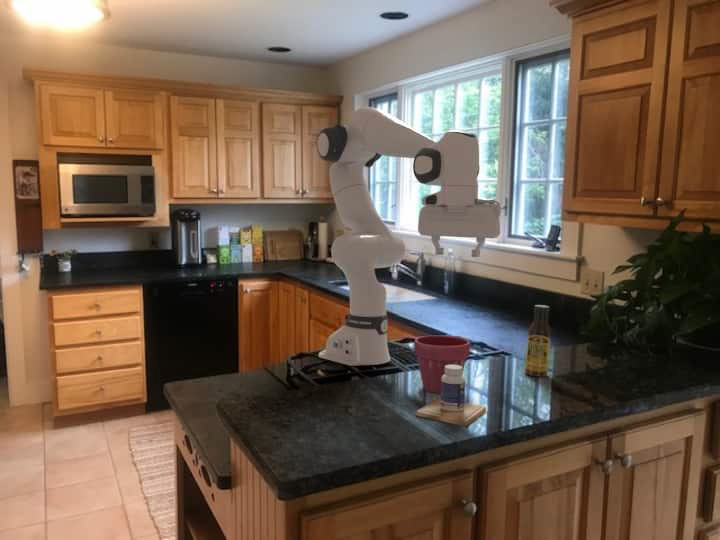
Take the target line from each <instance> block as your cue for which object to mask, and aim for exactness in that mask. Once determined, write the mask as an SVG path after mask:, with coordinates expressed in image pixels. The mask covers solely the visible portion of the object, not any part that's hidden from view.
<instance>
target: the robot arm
mask: <svg viewBox="0 0 720 540" xmlns="http://www.w3.org/2000/svg"><path fill="white" fill-rule="evenodd" d="M316 151H317V153H318V156H319V157H320V158H321V160H322V161H324V162H329V163H332V164H331V166H330V167H329V169H328V175H329V176H328V177H329V183H330V189H331V194H332V196H333V197H332V198H333V200H334V201H333V202H334V204H335V207H336V210H337V213H338V215H339V216H338V217H339V220H340V221H341V223H342V224H343V225H345V227H346V226H347V227H348V228H349V229H351V230H352V232H350V233H345V234H342V235H339V236H337V237H336V238H335V239H334V241H333V242H332V246H331V251H330V252H331V258H332V260H333V262H334V264H335V265H336V266H337V267H339V269H340V270H341V271H342V272H343V274H344V276H345V278H346V281H347V283H348V288H349V289H348V290H349V313H346V315H342V316H341V317H342V319H341V320H343V321H345V322H344V325H342V326H341V327H339V328H338V329H337V330H336V331H334V332H333V333H332V334H331V335H330V336H328V337H327V341H326V344H325V345H326V346H325V349H323V350H321V351H320V352H318V358H319V359H324V360H327V361H328V360H329V361H331V362H334V363H335V362H336V363H339V364H343V365H347V366H350V367H351V366H352V367H353V366H373V365H374V366H375V365H382V364H385V363H388V362H390V361H391V356H390V353H389V347H388V338H387V332H388V314H387V289H386V286H384V284H382V283H381V282H379V281H378V279H377V276H376V271H375V269H382V268H384V269H385V268H390V267H392V266H395V265H398V264H399V263H401V262H402V260H403V259H404V257H405V254H406V253H405V252H406V246H405V242H404V240H403V238H402V237H401V236H400V235H399V234H397V233H395V232H393V230H391V229H390V228H389V226H388V225H387V224H386V223H385V221H384V220H383V219H382V217H381V216H380V215H379V213H378V211H377V209H376V207H375V204H374V201H373V200H372V196H371V193H370V190H369V187H368V184H367V181H366V180H365V176H364V168H365V167H366V168H371V167H373V165H374V163H376V162H377V161H378V160H379V159H380V158H381V157H382V156H384V157H391V158H406V159H413V163H412V171H413V176H414V177H415V179H416V180H417V181H418V182H419V183H420V184H422V185H426V186H437V187H440V190H439V191H437V192H434V193H431V194H428V195H424V196H423V197H422V198H421V204H422V206H423V207H422V208H421V209H420V211H419V214H418V222H417V231H418V233H419V235H420V236H425V237H426V236H429V237H431V239H430V240H431V243H432V244H433V246H434V248H435V249H434V252H435V253H434V254H435V255H436V256H437V255H439V256H443V255H444V253H445V252H444V249H445V248H444V247H443V246H441V244H440V242H439V241H441V237H449V238H450V237H454V238H475V239H476V241H475V242H476V244H477V243H478V244H477V245H476V246H475V249H474V248H473V249H471V254H470V255H471V257H472V258H473V257H474V258H479V257H480V256H481V255H480V254H481V249H483V247H484V245H485V243H486V239H498V237H499V236H500V235H501V222H500V216H501V212H502V211H501V209H502V208H501V204H500V202H498V200H495V199H494V198H489V199H487V198H479V182H478V177H479V174H480V170H481V169H480V145H479V140H478V137H477V135H475V134H474V133H472V132H469V131H461V130H449V131H446V132H445V133H444V134H443V136H442V137H441V139H439V140H435V139H434V138H432V137H429V136H427V135H425V134H423V133H421V132H420V131H418V130H417V129H415V128H413V127H411V126H410V125H407V124H406V123H404V121H403V122H402V121H401V120H400V119H398V118H396V117H395V116H392V115H391V114H390V113H388V112H385V110H382V109H380V108H379V109H378V108H376V107H373V106H372V107H371V106H362V107H360V108H357V109H356V110H355V111H354V112H353V114H352V115H351V117H350V120H349V123H347V124H346V125H345V124H341V123H336V124H334V125H330V126H327V127H324V128H323V129H322V130H321V131H320V132H319V133H318V136H317V138H316Z"/></svg>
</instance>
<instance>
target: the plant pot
mask: <svg viewBox="0 0 720 540" xmlns="http://www.w3.org/2000/svg"><path fill="white" fill-rule="evenodd" d="M470 349H471V342H470V341H469V340H468V339H466V338H462V337H459V336H458V337H457V336H452V335H451V336H449V335H437V334H434V335H432V334H431V335H422V336H417V337H416V338H415V339H414V348H413V353H414V355H415V356H416V357H417V361H418V367H419V372H420V377H421V382H422V388H423V389H424V390H425V391H427V392H430V393H434V394H441V378H442V376H443V375H445V374H446V373H445V366H446V365H459V366H462V374H461V375H462V376H463V373H464V368H465V364H466V360H467V358H469V357H470V354H471V353H470V352H471V351H470Z"/></svg>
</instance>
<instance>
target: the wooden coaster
mask: <svg viewBox="0 0 720 540" xmlns="http://www.w3.org/2000/svg"><path fill="white" fill-rule="evenodd" d="M485 412H487V406H484V405H479V404H475V403H474V404H473V403H468V402H464V409H463V410H462V411H458V412H452V411H446V410H443V409H442V408H441V397H437V398H436V399H434V400H432V401H431V402H429V403H427V404H426V405H424V406H422V407H421V408H419V409H417V410H416V412H415V415H416V416H418V417H422V418H426V419H430V420H435V421H439V422H445V423H449V424H452V425H458V426H462V427H467V426H469V425H470V424H471V423H473V422H474V421H475V420H476V419H478V418H479V417H481V416H482V415H483V414H485Z"/></svg>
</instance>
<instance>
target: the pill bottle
mask: <svg viewBox="0 0 720 540" xmlns="http://www.w3.org/2000/svg"><path fill="white" fill-rule="evenodd" d="M445 373H446V374H445V375H443V376H442V378H441V393H440V398H441V408H442V409H443V410H446V411H452V412H458V411H462V410H463V409H464V403H465V399H466V398H465V397H466V396H465V395H466V394H465V393H466V390H465V389H466V378H465V376H464V375H463V373H462V366H459V365H446V366H445ZM461 374H462V375H461Z"/></svg>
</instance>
